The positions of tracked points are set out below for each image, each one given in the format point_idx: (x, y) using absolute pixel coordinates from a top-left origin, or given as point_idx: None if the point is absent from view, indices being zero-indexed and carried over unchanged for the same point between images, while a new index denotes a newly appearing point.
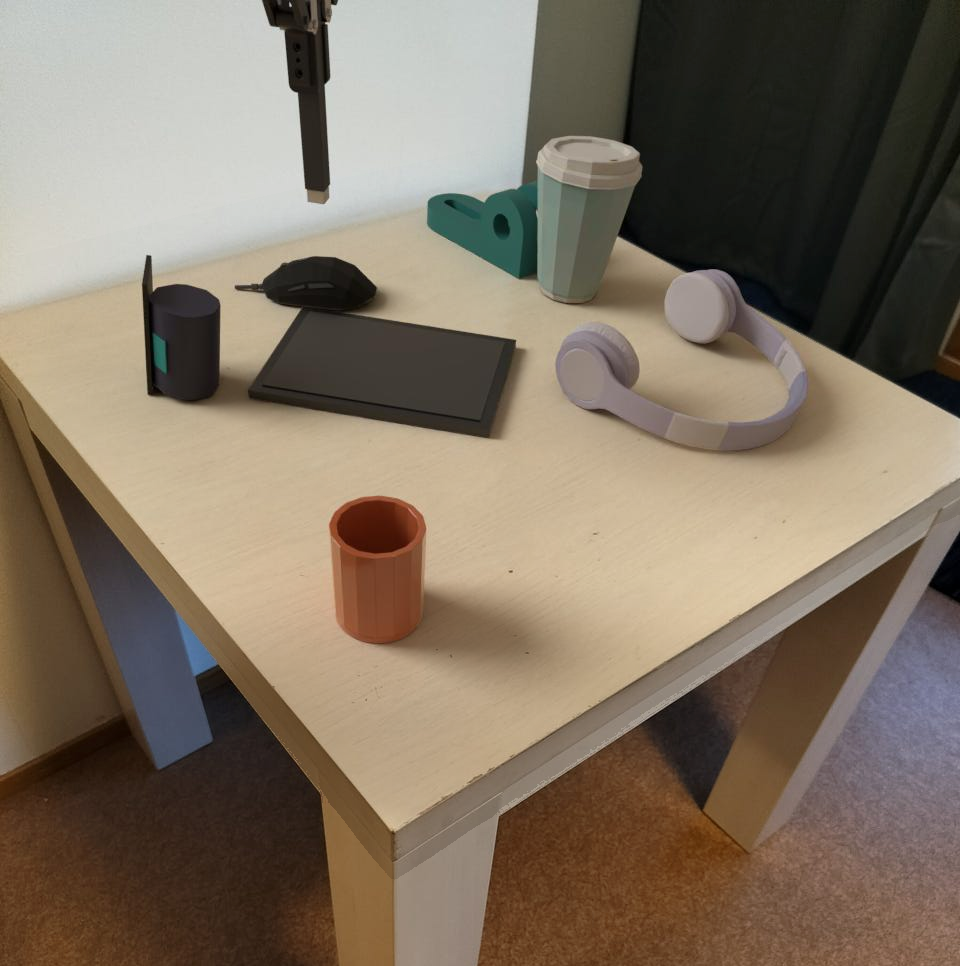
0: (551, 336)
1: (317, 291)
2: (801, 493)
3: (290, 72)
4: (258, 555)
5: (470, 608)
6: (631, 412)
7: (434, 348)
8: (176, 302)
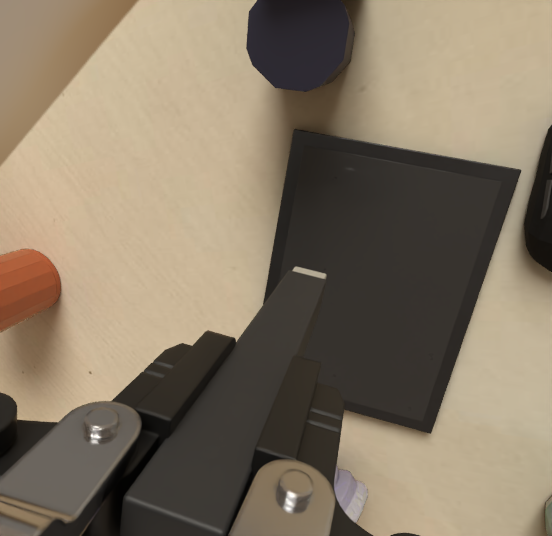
0: (459, 468)
1: (542, 192)
2: None
3: (160, 358)
4: (67, 182)
5: (50, 341)
6: None
7: (402, 343)
8: (284, 24)
